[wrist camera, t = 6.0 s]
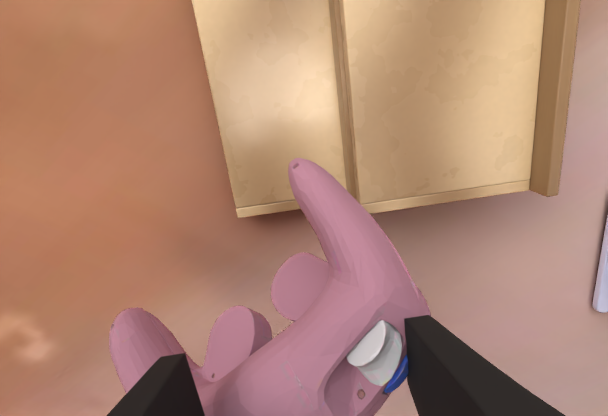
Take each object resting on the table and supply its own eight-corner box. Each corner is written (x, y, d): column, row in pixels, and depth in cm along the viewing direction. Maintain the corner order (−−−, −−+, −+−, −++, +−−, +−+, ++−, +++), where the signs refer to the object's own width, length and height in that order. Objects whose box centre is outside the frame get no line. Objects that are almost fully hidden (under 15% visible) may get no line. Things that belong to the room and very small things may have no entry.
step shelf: (508, -122, 14) (606, -215, 10) (493, 171, 18) (558, 195, 14) (182, -78, 14) (137, -154, 10) (241, 208, 18) (228, 244, 14)
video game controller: (196, 342, 16) (222, 542, 10) (100, 314, 12) (71, 580, 7) (365, 203, 14) (494, 363, 9) (302, 133, 11) (443, 315, 6)
